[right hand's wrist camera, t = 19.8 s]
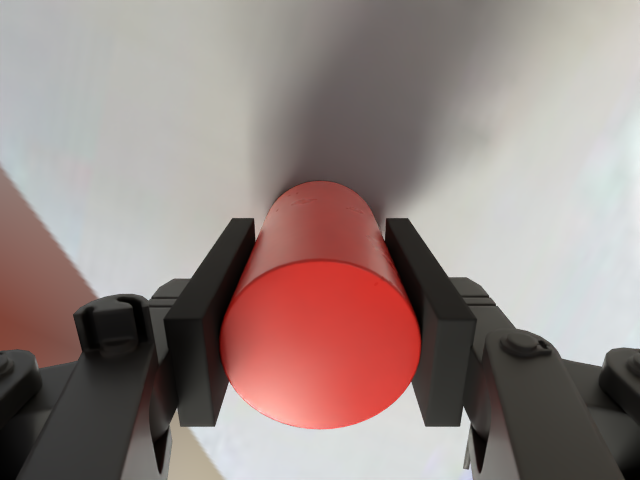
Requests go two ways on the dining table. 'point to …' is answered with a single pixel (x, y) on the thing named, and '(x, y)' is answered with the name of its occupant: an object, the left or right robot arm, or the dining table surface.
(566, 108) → the dining table surface
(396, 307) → the red cylinder
